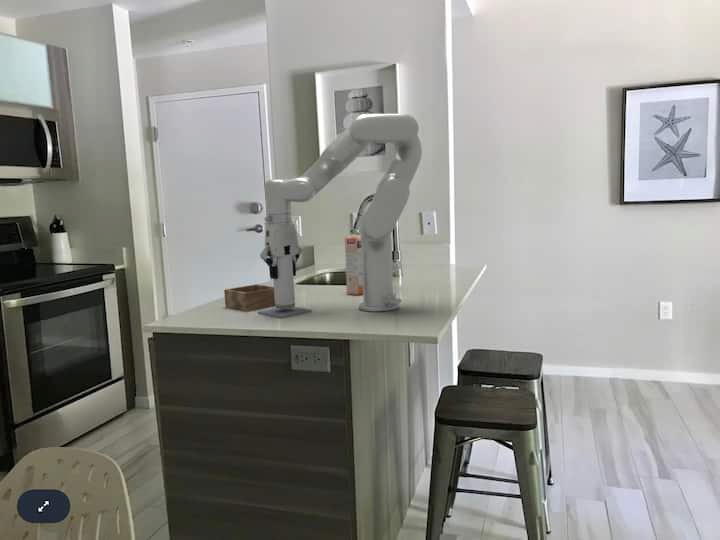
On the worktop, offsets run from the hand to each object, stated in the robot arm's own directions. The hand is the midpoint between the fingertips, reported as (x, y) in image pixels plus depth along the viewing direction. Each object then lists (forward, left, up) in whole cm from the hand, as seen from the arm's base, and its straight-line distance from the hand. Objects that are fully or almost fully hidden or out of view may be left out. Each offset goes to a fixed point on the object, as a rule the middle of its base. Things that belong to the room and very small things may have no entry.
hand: (283, 276), depth 181 cm
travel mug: (0, 0, -10) cm, 10 cm away
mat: (0, 0, -11) cm, 11 cm away
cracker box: (+5, -40, -12) cm, 42 cm away
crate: (+18, 0, -11) cm, 21 cm away
